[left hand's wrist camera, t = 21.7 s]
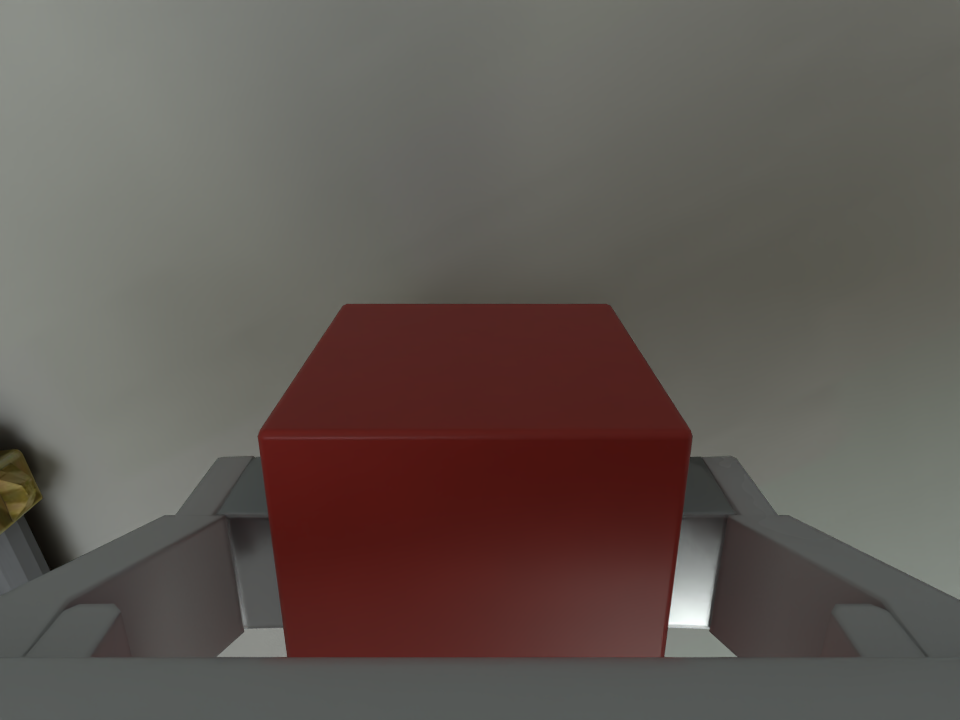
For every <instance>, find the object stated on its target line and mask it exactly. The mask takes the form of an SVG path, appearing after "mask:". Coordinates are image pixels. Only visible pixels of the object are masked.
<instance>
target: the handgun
mask: <svg viewBox="0 0 960 720" xmlns="http://www.w3.org/2000/svg"><path fill="white" fill-rule="evenodd" d="M42 498H43V497H42V495H41V492H40V490H39V488H38V486H37V484H36V482H35V479H34V477H33V475H32V473H31V471H30V469H29V467H28V464H27V462H26V460H25V458H24V456H23V454H22V453H21V451H19V450H17V449H11V450H1V451H0V596H1V595H3V594H5V593H7V592H9V591H11V590H13V589H15V588H17V587H19V586H21V585H23V584H25V583H27V582H29V581H31V580H33V579H35V578H38V577H40V576H42V575H44V574H46V573H48V572H50V569H49V567H48V565H47V563H46V561H45V559H44V557H43V555H42V553H41V551H40V548H39V546H38V544H37V542H36V540H35V538H34V536H33V534H32V532H31V530H30V528H29V526H28V523H27V521H26V519H25V517H24V514H25V513H26V512H27V511H28V510H30V509H31V508H32V507H33V506H34V505H35V504H37V503H38V502H39V501H40V500H41V499H42Z"/></svg>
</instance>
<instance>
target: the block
mask: <svg viewBox="0 0 960 720" xmlns="http://www.w3.org/2000/svg"><path fill="white" fill-rule="evenodd" d="M692 438H693V436H692V433H691V430H690V429H689V427H688V426H687V424H686V422H685V421H684V419H683V418H682V416H681V415H680V413H679V412H678V410H677V408H676V407H675V405H674V404H673V402H672V401H671V399H670V398H669V396H668V394H667V393H666V391H665V390H664V388H663V387H662V385H661V384H660V382H659V380H658V379H657V377H656V376H655V374H654V373H653V371H652V369H651V368H650V366H649V365H648V363H647V362H646V360H645V359H644V357H643V355H642V354H641V352H640V351H639V349H638V348H637V346H636V345H635V343H634V341H633V340H632V338H631V337H630V335H629V334H628V332H627V331H626V329H625V327H624V326H623V324H622V323H621V321H620V320H619V318H618V317H617V315H616V313H615V312H614V310H613V309H612V307H611V306H610V305H608V304H346V305H343V306H342V308H341V309H340V311H339V312H338V314H337V315H336V317H335V318H334V320H333V321H332V323H331V324H330V326H329V327H328V329H327V330H326V332H325V333H324V335H323V336H322V338H321V339H320V341H319V342H318V344H317V345H316V347H315V348H314V350H313V351H312V353H311V354H310V356H309V357H308V359H307V360H306V362H305V363H304V365H303V366H302V368H301V369H300V371H299V372H298V374H297V375H296V377H295V378H294V380H293V381H292V383H291V384H290V386H289V387H288V389H287V390H286V392H285V393H284V395H283V396H282V398H281V399H280V401H279V402H278V404H277V405H276V407H275V408H274V410H273V411H272V413H271V414H270V416H269V417H268V419H267V420H266V422H265V423H264V425H263V426H262V428H261V429H260V431H259V434H258V442H259V449H260V457H261V464H262V472H263V479H264V486H265V494H266V501H267V509H268V516H269V524H270V531H271V539H272V546H273V554H274V561H275V569H276V576H277V584H278V591H279V599H280V606H281V614H282V621H283V629H284V636H285V644H286V651H287V657H664V655H665V647H666V639H667V631H668V624H669V616H670V608H671V600H672V593H673V585H674V577H675V569H676V562H677V554H678V546H679V538H680V531H681V523H682V515H683V507H684V500H685V492H686V484H687V476H688V469H689V461H690V453H691V445H692Z"/></svg>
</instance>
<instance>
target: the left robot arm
mask: <svg viewBox="0 0 960 720" xmlns="http://www.w3.org/2000/svg"><path fill="white" fill-rule="evenodd" d="M282 627H283V621H282V614H281V606H280V599H279V591H278V584H277V576H276V569H275V561H274V554H273V546H272V539H271V531H270V524H269V516H268V509H267V501H266V494H265V486H264V479H263V472H262V464H261V457H254V456H234V457H220V458H218V459H217V460H216V461H215V462H214V464H213V465H212V466H211V468H210V469H209V470H208V472H207V473H206V474H205V476H204V477H203V478H202V480H201V481H200V483H199V484H198V485H197V487H196V488H195V489H194V491H193V492H192V493H191V495H190V496H189V497H188V499H187V500H186V501H185V503H184V504H183V505H182V507H181V508H180V509H179V511H178V512H177V514H176V515H164V516H162V517H160V518H158V519H156V520H154V521H152V522H150V523H148V524H146V525H144V526H142V527H140V528H138V529H136V530H134V531H131V532H129V533H127V534H125V535H123V536H121V537H119V538H117V539H115V540H113V541H111V542H109V543H107V544H105V545H103V546H101V547H99V548H97V549H95V550H93V551H91V552H89V553H87V554H84V555H82V556H80V557H78V558H76V559H74V560H72V561H70V562H68V563H66V564H64V565H62V566H60V567H58V568H56V569H54V570H52V571H50V572H48V573H46V574H44V575H42V576H40V577H38V578H35V579H33V580H31V581H29V582H27V583H25V584H23V585H21V586H19V587H17V588H15V589H13V590H11V591H9V592H7V593H5V594H3V595H1V596H0V720H960V600H958V599H956V598H954V597H952V596H950V595H948V594H946V593H944V592H942V591H940V590H938V589H936V588H934V587H932V586H930V585H928V584H926V583H924V582H922V581H920V580H918V579H916V578H914V577H912V576H910V575H908V574H906V573H904V572H902V571H900V570H898V569H896V568H894V567H892V566H890V565H888V564H886V563H884V562H882V561H880V560H878V559H876V558H874V557H872V556H870V555H868V554H866V553H864V552H862V551H860V550H858V549H856V548H854V547H852V546H850V545H848V544H845V543H843V542H841V541H839V540H837V539H835V538H833V537H831V536H829V535H827V534H825V533H823V532H821V531H819V530H817V529H815V528H813V527H811V526H809V525H807V524H805V523H803V522H801V521H799V520H797V519H795V518H793V517H791V516H789V515H777V513H776V512H775V511H774V509H773V508H772V506H771V505H770V504H769V502H768V501H767V500H766V498H765V497H764V495H763V494H762V493H761V491H760V490H759V489H758V487H757V486H756V485H755V483H754V482H753V480H752V479H751V478H750V476H749V475H748V474H747V472H746V471H745V469H744V468H743V467H742V465H741V464H740V463H739V461H738V460H737V459H736V458H734V457H732V456H716V457H690V461H689V469H688V476H687V484H686V492H685V500H684V507H683V515H682V523H681V531H680V538H679V546H678V554H677V562H676V569H675V577H674V585H673V593H672V600H671V608H670V616H669V624H668V627H670V628H707V629H710V630H709V631H710V632H711V633H712V634H713V635H714V636H715V637H716V638H717V639H718V640H720V641H721V642H722V643H723V644H724V645H725V646H726V647H727V648H728V649H729V650H731V651H732V652H733V653H734V654H735V655H736V656H737V657H217V656H218V655H219V654H220V653H221V652H222V651H223V650H224V649H226V648H227V647H228V646H229V645H230V644H231V643H232V642H233V641H234V640H236V639H237V638H238V637H239V636H240V635H241V634H242V633H243V632H244V629H247V628H282Z"/></svg>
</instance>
